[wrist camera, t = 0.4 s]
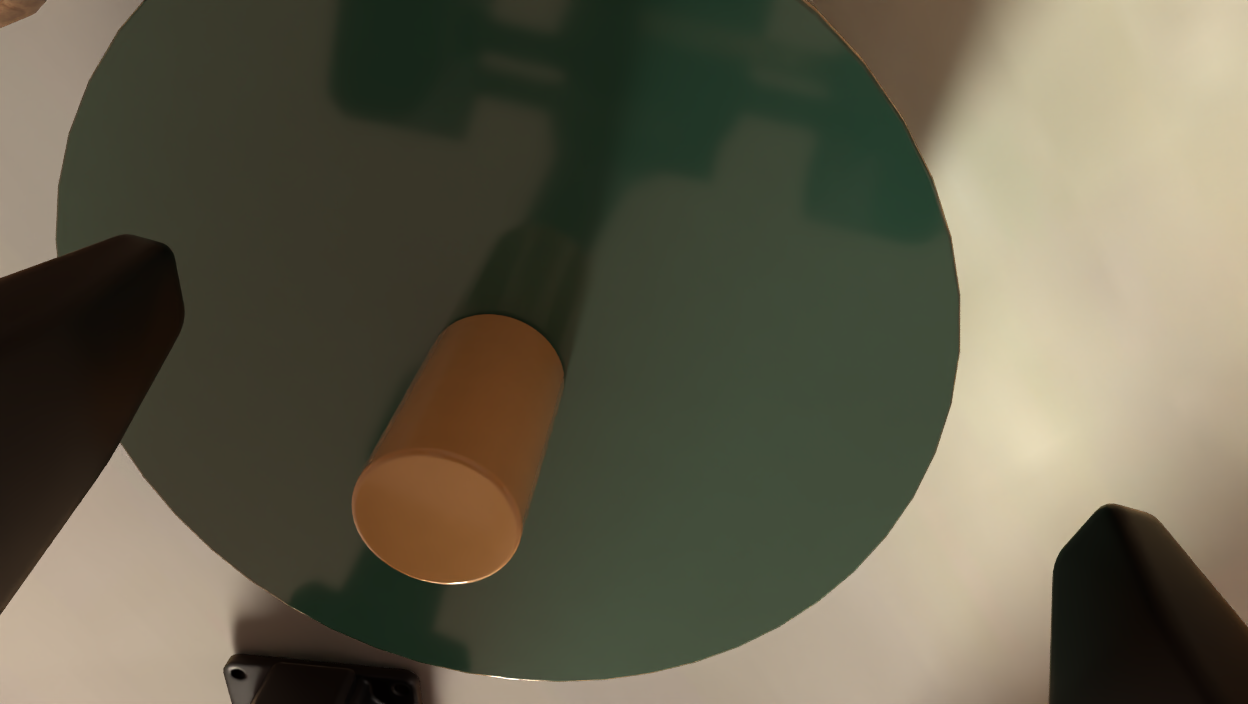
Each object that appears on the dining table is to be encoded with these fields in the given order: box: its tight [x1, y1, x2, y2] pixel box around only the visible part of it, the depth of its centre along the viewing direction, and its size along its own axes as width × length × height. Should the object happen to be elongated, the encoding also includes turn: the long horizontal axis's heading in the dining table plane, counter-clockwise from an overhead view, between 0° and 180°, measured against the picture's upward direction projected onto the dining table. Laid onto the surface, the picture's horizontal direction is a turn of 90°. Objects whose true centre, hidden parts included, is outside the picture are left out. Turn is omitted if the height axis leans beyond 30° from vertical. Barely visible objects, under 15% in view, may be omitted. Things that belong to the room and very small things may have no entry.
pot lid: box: [56, 0, 960, 682], centre depth 15 cm, size 16×16×5 cm
